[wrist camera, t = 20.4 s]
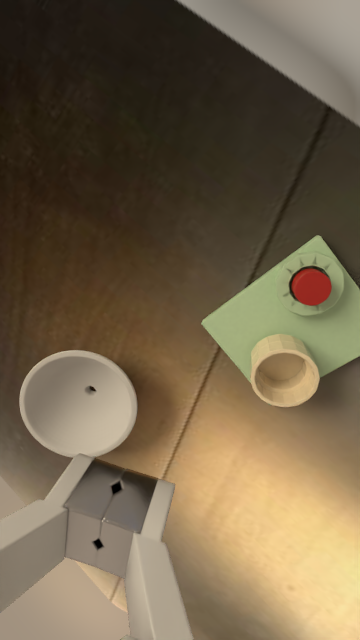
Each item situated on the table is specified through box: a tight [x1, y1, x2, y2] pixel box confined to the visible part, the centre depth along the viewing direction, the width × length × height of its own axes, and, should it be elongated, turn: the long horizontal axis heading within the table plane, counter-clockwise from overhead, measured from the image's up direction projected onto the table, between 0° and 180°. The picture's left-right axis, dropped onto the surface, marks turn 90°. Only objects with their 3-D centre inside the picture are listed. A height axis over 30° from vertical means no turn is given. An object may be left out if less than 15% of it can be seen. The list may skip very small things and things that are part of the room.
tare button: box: [292, 268, 332, 306], centre depth 28 cm, size 3×3×2 cm
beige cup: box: [250, 334, 320, 407], centre depth 32 cm, size 6×6×4 cm
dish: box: [20, 350, 138, 457], centre depth 39 cm, size 18×14×5 cm
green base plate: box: [202, 235, 360, 405], centre depth 32 cm, size 15×13×3 cm
